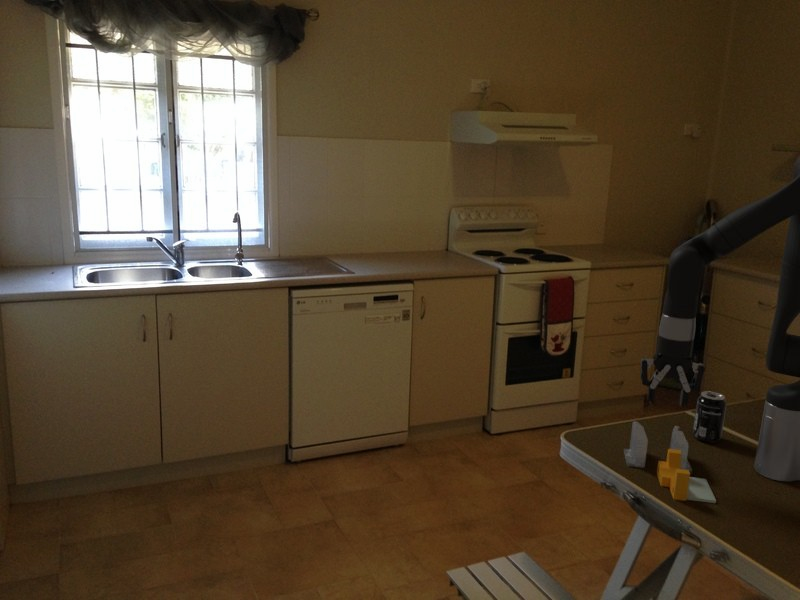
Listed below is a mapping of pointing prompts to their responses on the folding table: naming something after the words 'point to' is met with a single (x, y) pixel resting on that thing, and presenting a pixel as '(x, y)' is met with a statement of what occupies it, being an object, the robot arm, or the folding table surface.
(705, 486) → the pad
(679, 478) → the pipe clamp
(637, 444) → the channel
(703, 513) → the folding table surface
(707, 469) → the folding table surface
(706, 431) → the beverage can
